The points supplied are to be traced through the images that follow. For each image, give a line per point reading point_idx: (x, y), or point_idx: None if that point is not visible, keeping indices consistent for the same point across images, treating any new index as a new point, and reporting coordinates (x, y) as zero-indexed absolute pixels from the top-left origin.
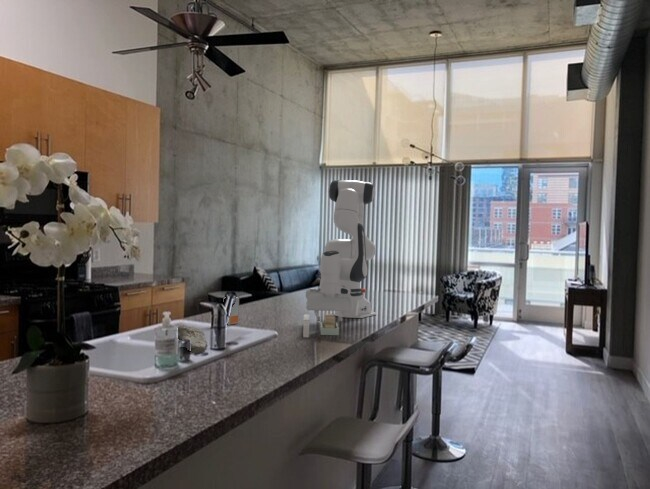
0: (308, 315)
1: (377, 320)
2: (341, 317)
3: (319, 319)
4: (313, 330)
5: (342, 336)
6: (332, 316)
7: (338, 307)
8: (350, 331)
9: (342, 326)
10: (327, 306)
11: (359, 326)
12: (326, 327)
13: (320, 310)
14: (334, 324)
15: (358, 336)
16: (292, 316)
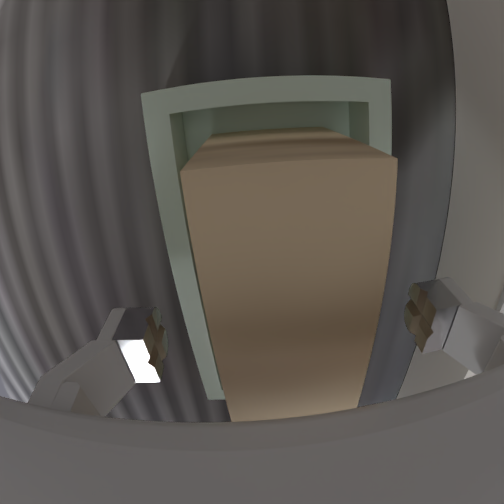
0: None
1: None
2: (105, 339)
3: (428, 288)
4: (407, 270)
5: (125, 49)
6: (246, 335)
7: (90, 480)
8: (90, 286)
9: (186, 412)
10: (413, 485)
11: None
12: (320, 131)
13: (497, 367)
14: (203, 147)
15: (5, 106)
16: None
